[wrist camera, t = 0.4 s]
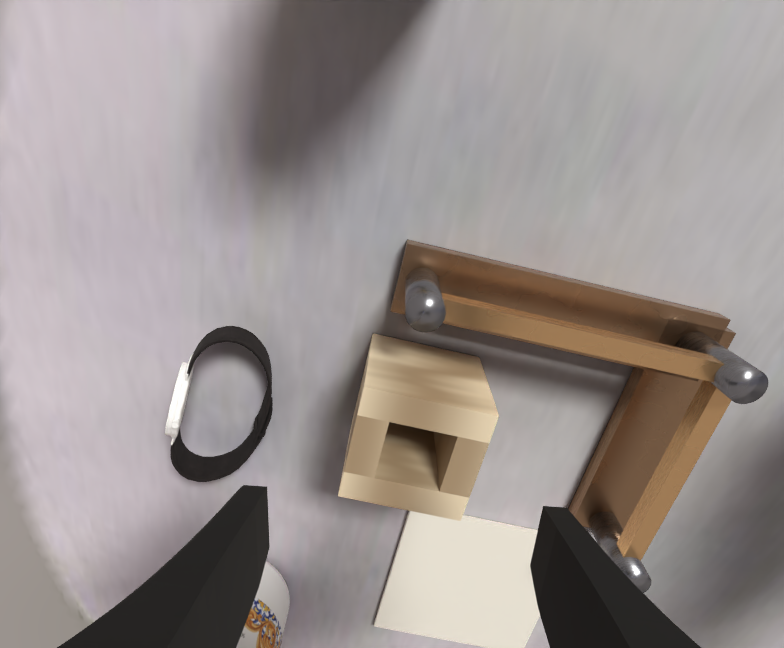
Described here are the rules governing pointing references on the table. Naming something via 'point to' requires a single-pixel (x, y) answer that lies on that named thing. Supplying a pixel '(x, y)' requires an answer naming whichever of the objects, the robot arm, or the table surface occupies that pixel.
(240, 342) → the watch
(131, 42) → the table surface
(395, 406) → the hollow wooden cube
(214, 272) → the table surface
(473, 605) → the coaster
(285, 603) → the bath foam
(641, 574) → the wooden rail
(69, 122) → the table surface
